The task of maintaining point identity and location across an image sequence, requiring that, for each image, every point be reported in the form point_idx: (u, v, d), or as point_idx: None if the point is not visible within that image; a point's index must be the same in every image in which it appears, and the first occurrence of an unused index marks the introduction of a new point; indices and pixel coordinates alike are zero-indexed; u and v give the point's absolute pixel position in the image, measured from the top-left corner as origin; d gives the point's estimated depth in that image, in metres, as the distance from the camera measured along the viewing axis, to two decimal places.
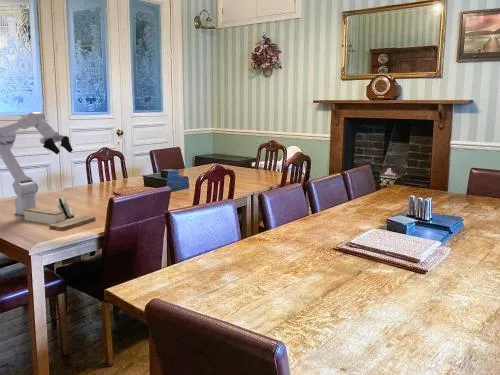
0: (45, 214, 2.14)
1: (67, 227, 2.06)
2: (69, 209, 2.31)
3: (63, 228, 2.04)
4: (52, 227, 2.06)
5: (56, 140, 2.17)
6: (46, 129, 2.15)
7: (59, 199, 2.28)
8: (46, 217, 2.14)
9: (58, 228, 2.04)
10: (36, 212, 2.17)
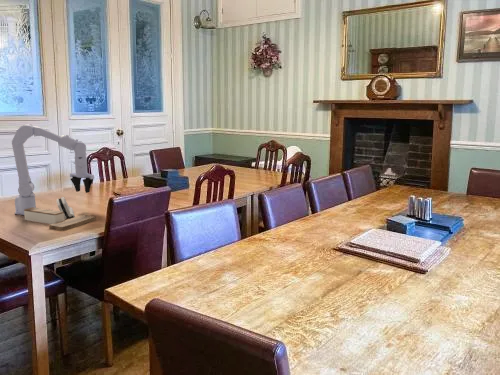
0: (45, 214, 2.14)
1: (67, 227, 2.06)
2: (69, 209, 2.31)
3: (63, 228, 2.04)
4: (52, 227, 2.06)
5: (81, 177, 2.38)
6: None
7: (59, 199, 2.27)
8: (46, 217, 2.14)
9: (58, 228, 2.04)
10: (36, 212, 2.17)
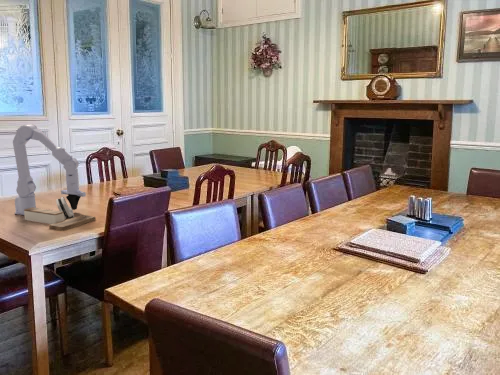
0: (45, 214, 2.14)
1: (67, 227, 2.06)
2: (68, 209, 2.30)
3: (63, 228, 2.04)
4: (52, 227, 2.06)
5: None
6: (78, 183, 2.34)
7: (58, 199, 2.27)
8: (46, 217, 2.14)
9: (58, 228, 2.04)
10: (36, 212, 2.17)
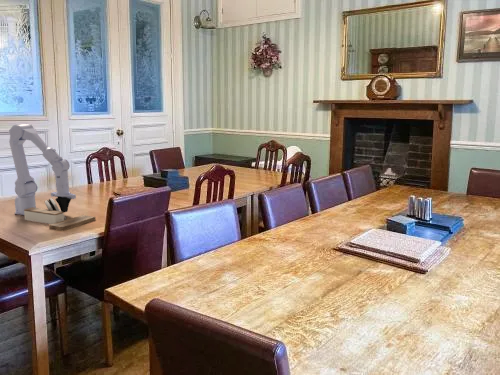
0: (45, 214, 2.14)
1: (67, 227, 2.06)
2: None
3: (63, 228, 2.04)
4: (52, 227, 2.06)
5: None
6: (68, 185, 2.28)
7: None
8: (46, 217, 2.14)
9: (58, 228, 2.04)
10: (36, 212, 2.17)
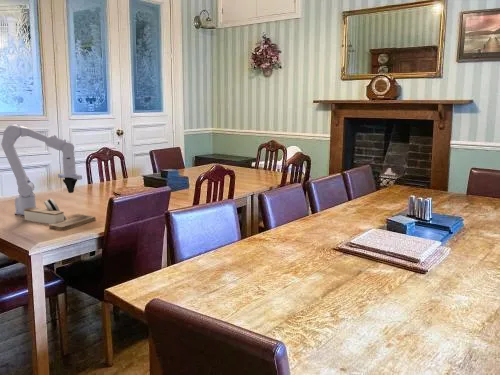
0: (45, 214, 2.14)
1: (67, 227, 2.06)
2: None
3: (63, 228, 2.04)
4: (52, 227, 2.06)
5: None
6: None
7: (48, 201, 2.24)
8: (46, 217, 2.14)
9: (58, 228, 2.04)
10: (36, 212, 2.17)
